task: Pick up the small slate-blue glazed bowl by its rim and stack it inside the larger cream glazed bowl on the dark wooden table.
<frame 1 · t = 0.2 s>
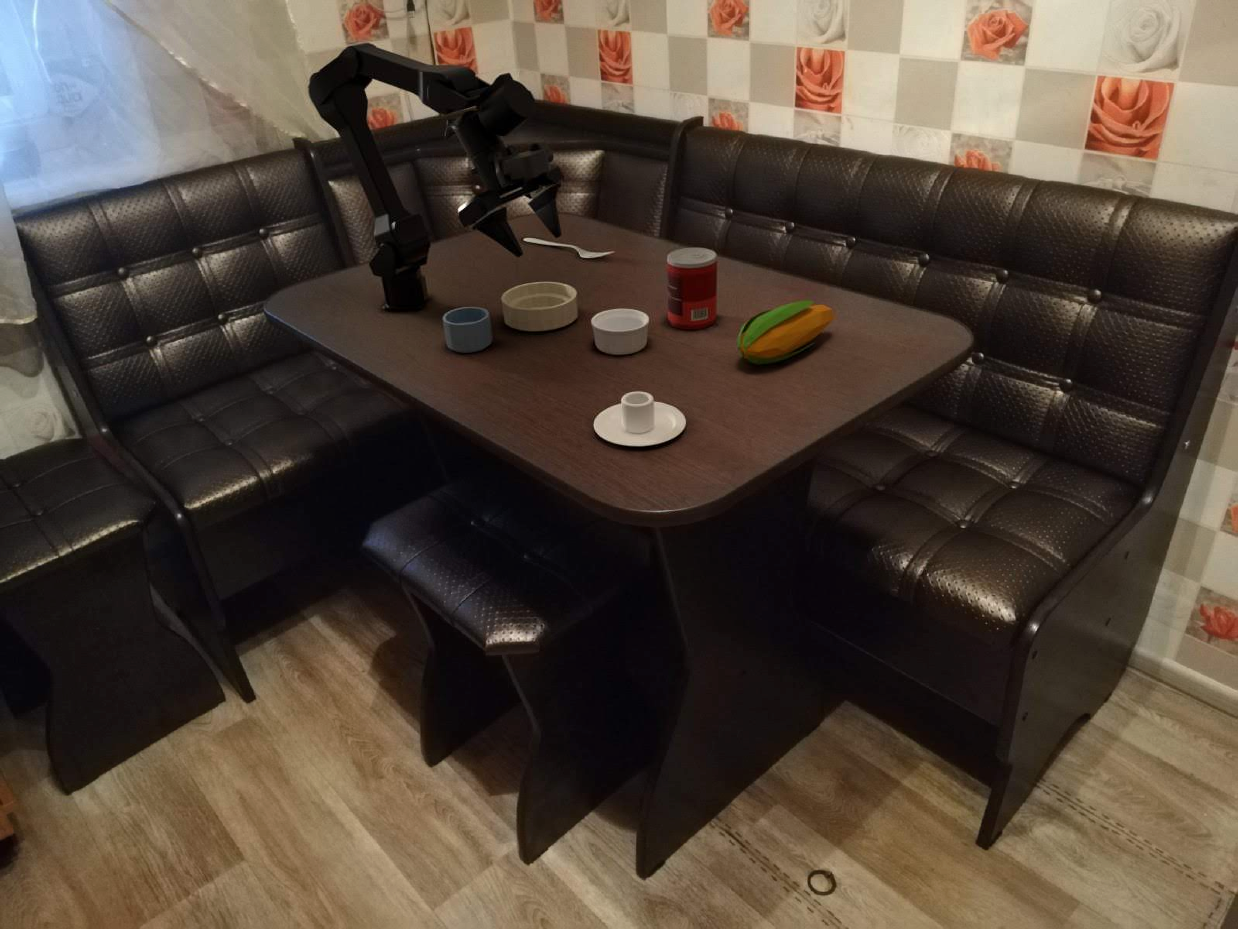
hand: (540, 246, 139), 15 cm above the table, tool tilted 30°, fingers open, 9 cm apart
ramekin: (621, 346, 143), on the table
candle holder: (639, 428, 121), on the table
canned food: (692, 322, 150), on the table
cream bowl: (541, 319, 153), on the table
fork: (566, 251, 183), on the table
corn: (786, 351, 138), on the table
slate bowl: (470, 345, 146), on the table
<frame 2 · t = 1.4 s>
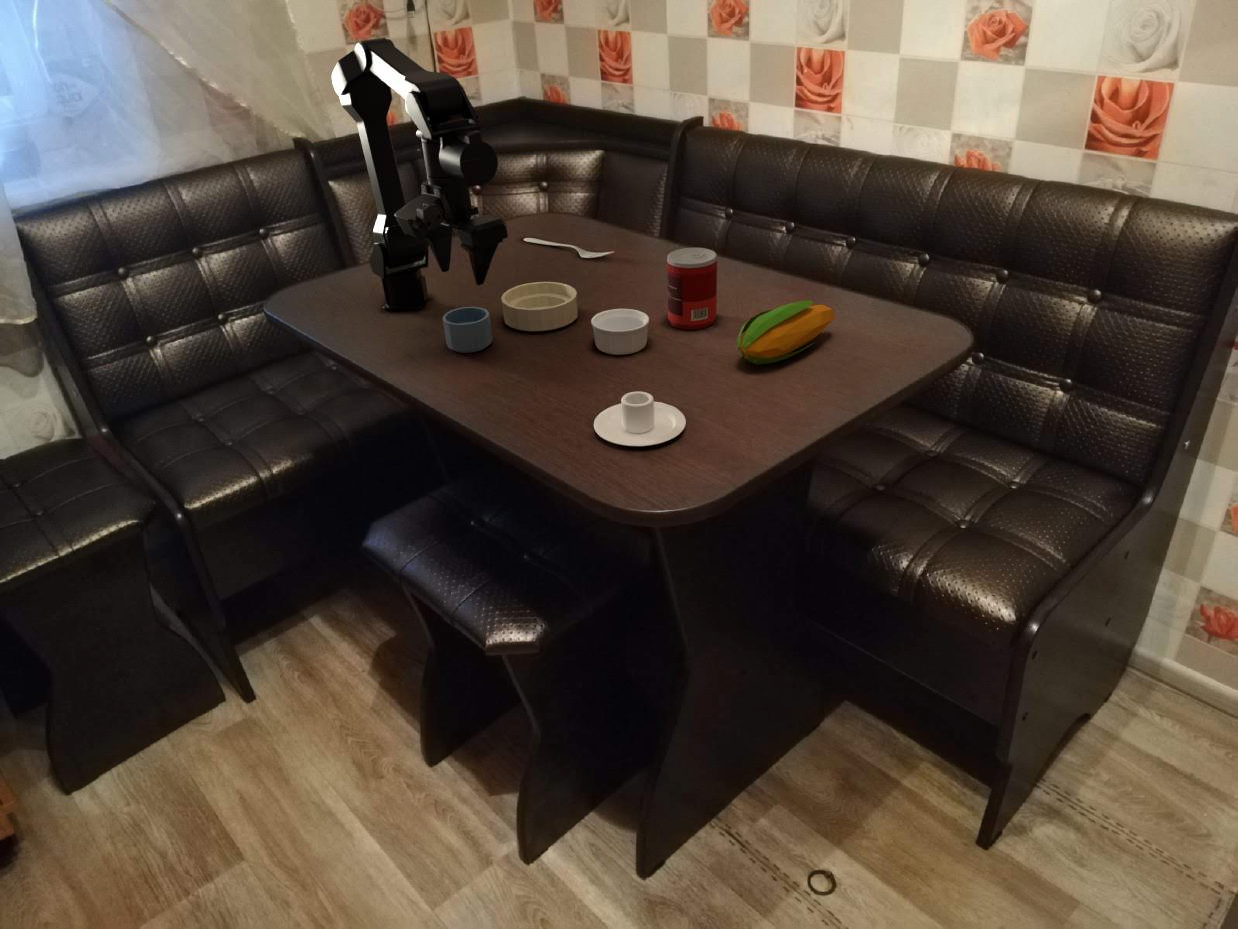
hand: (462, 277, 140), 11 cm above the table, tool pointing down, fingers open, 9 cm apart
nothing on the table moved.
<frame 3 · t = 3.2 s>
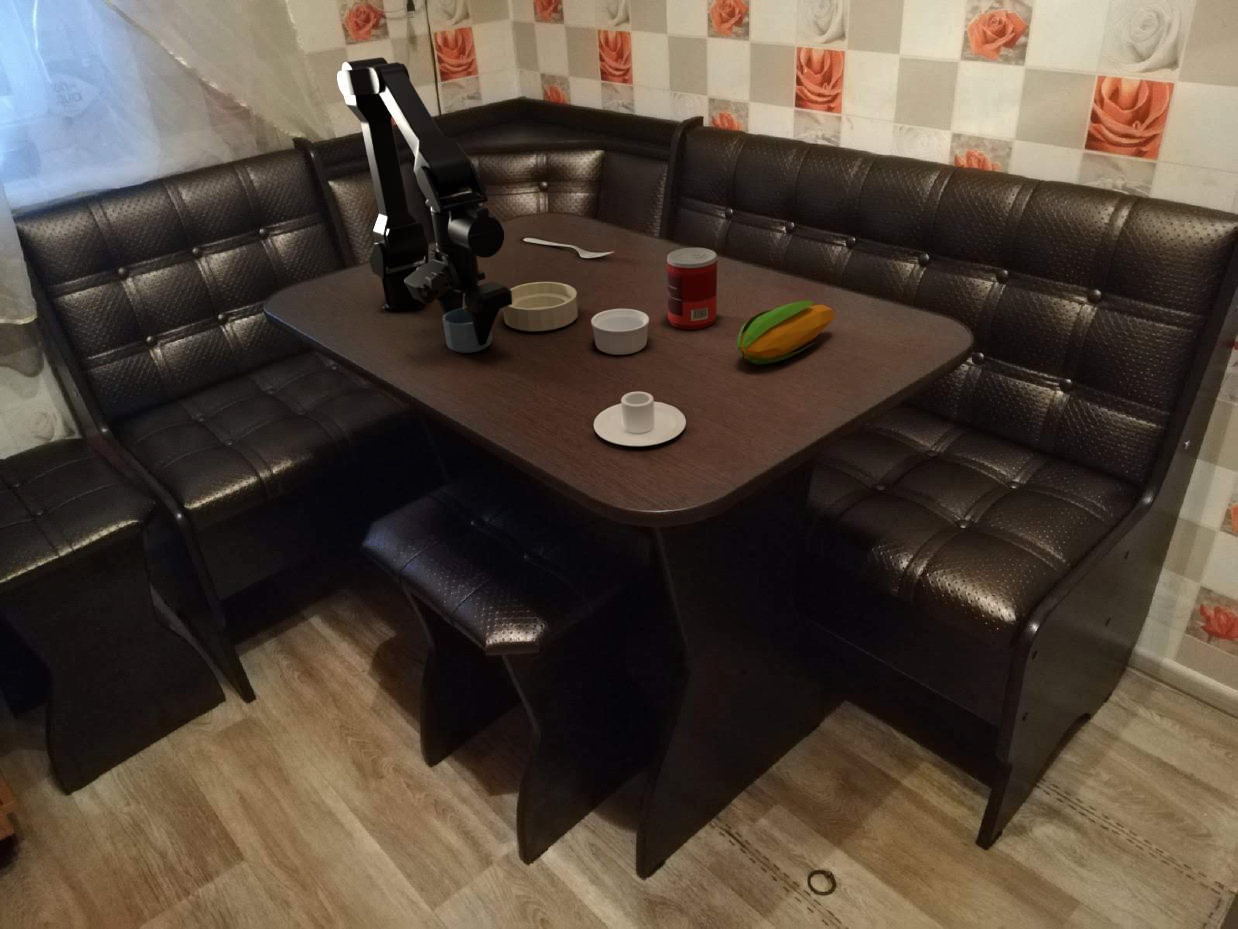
hand: (469, 337, 145), 1 cm above the table, tool pointing down, fingers closed on slate bowl, 7 cm apart
slate bowl: (470, 345, 146), on the table, touching gripper
everything else where it was.
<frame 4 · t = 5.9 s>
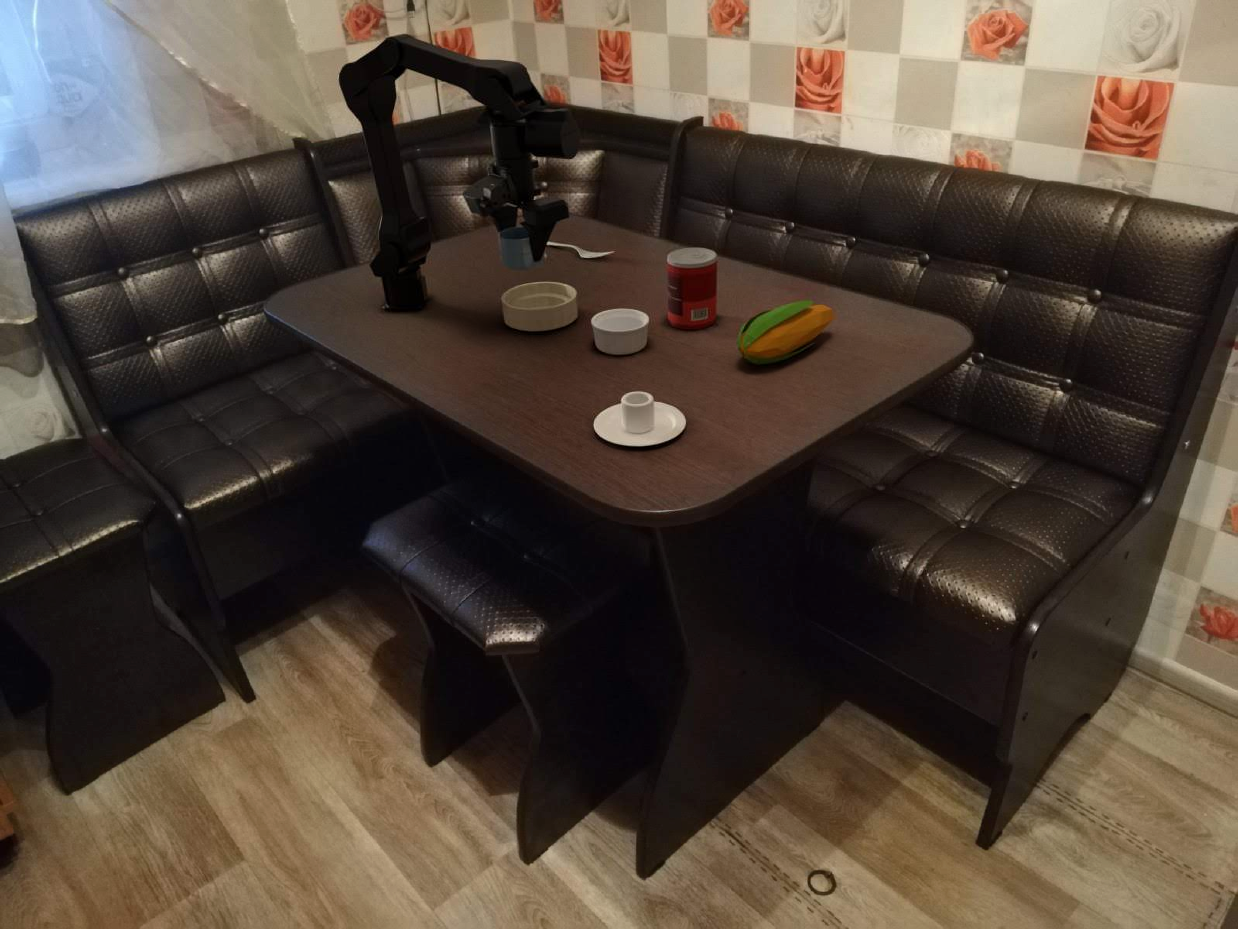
hand: (523, 256, 146), 11 cm above the table, tool pointing down, fingers closed on slate bowl, 7 cm apart
slate bowl: (524, 263, 147), point 10 cm above the table, touching gripper
everything else where it was.
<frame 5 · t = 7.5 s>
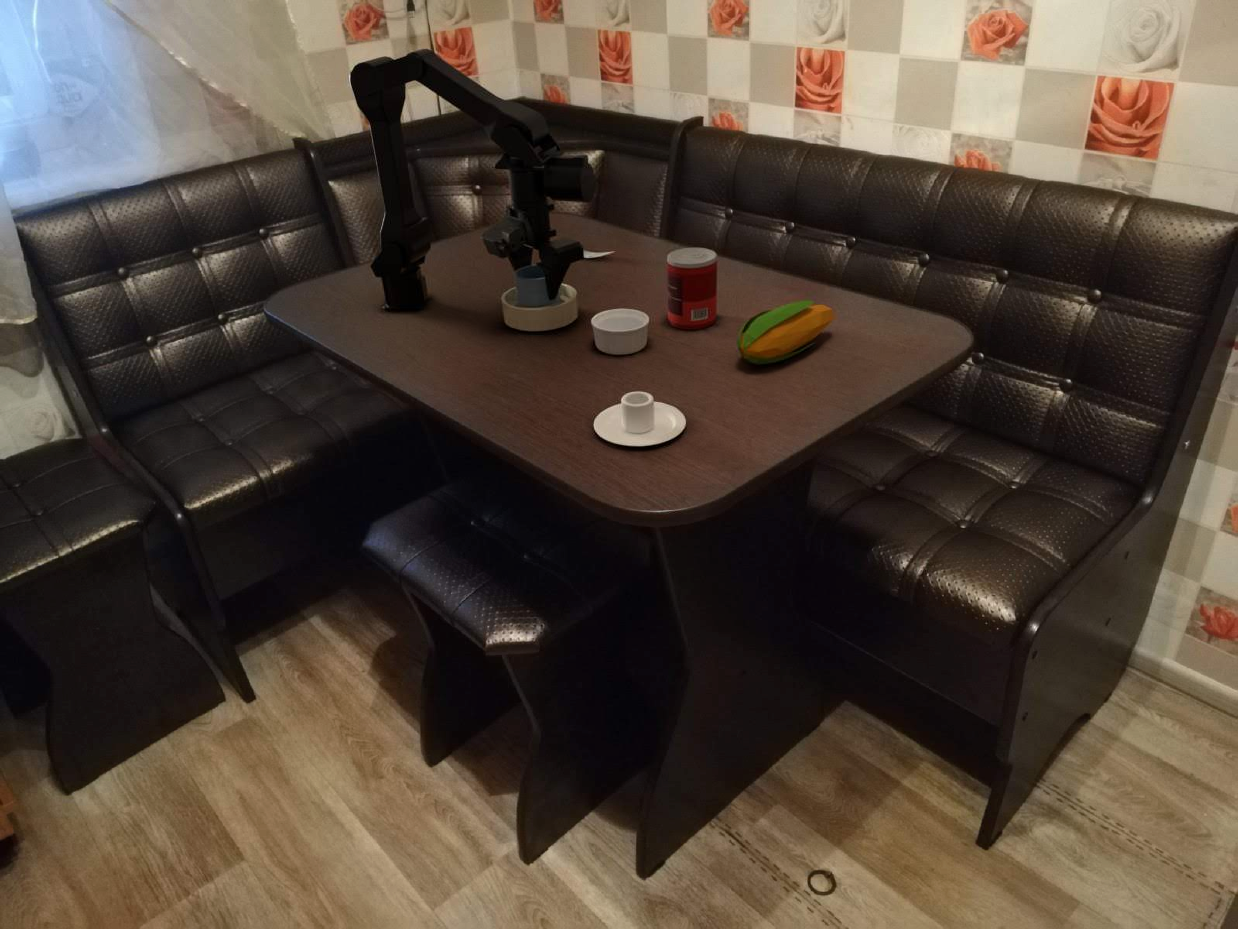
hand: (538, 293, 151), 4 cm above the table, tool pointing down, fingers closed on slate bowl, 7 cm apart
slate bowl: (539, 300, 152), point 3 cm above the table, touching gripper
everything else where it was.
when the fingers open (2 cm above the table, at t = 9.2 s): slate bowl stays where it is, resting on cream bowl.
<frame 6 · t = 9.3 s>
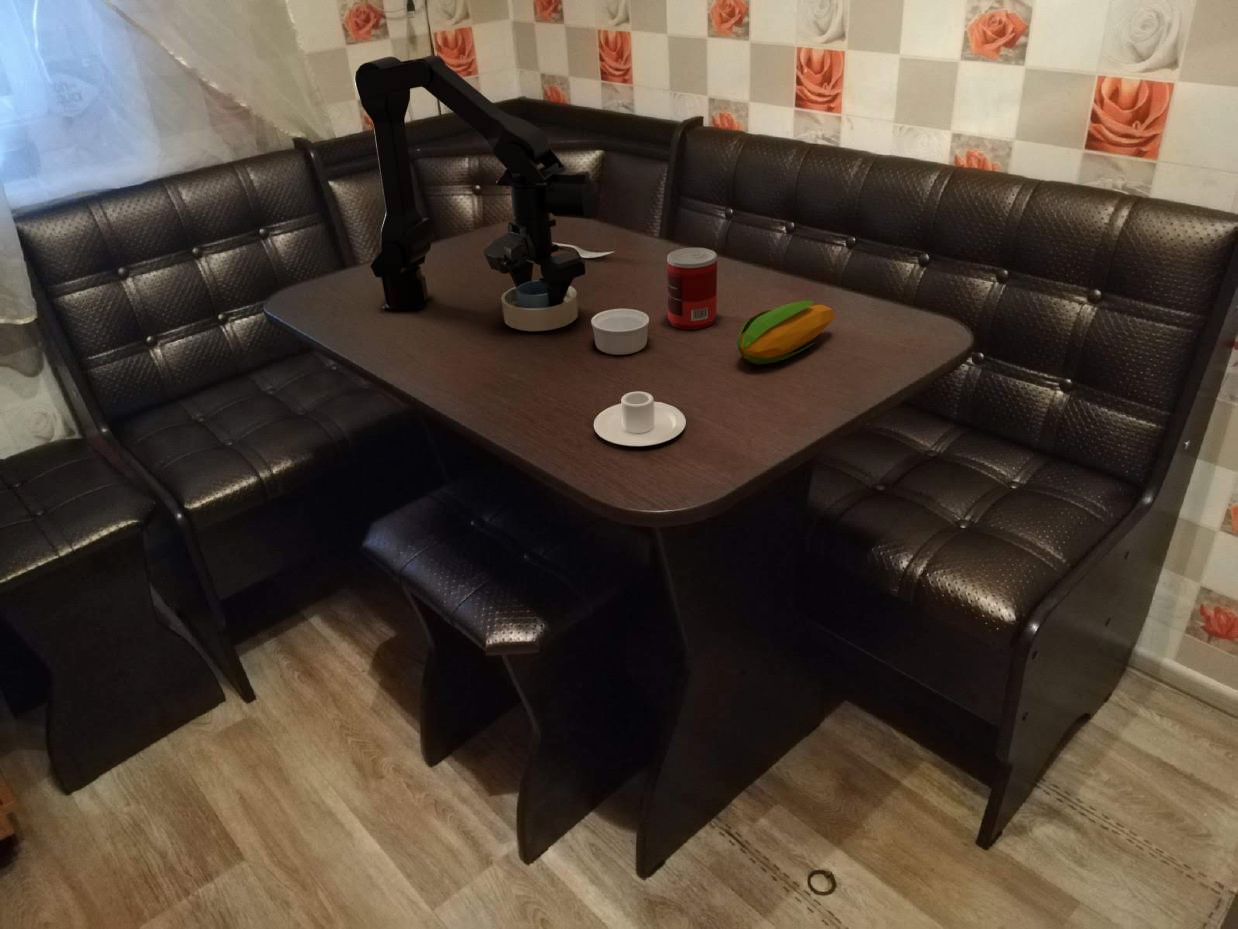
hand: (540, 307, 152), 2 cm above the table, tool pointing down, fingers open, 8 cm apart
slate bowl: (540, 316, 153), resting on cream bowl
everything else where it was.
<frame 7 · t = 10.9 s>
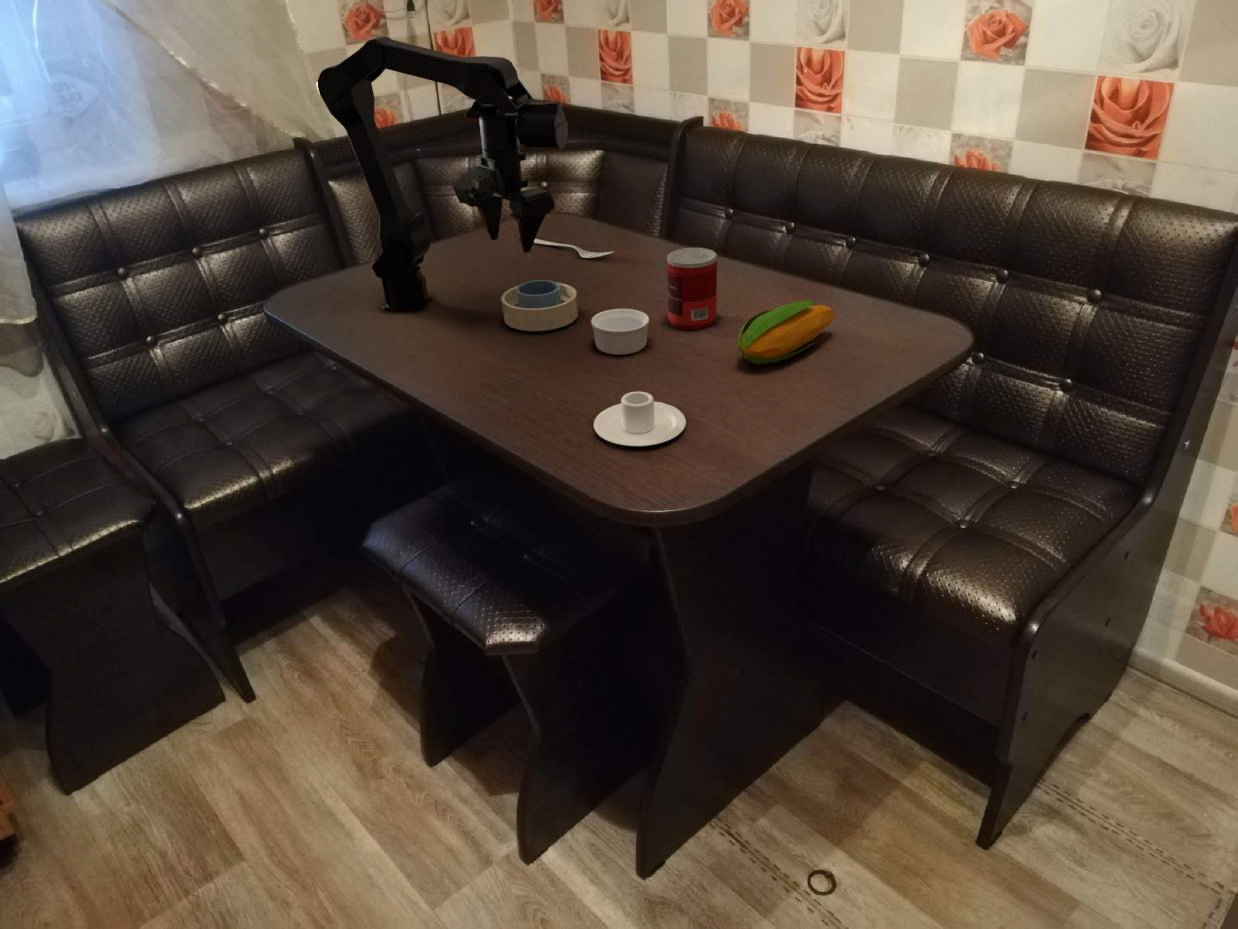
hand: (510, 245, 151), 11 cm above the table, tool pointing down, fingers open, 9 cm apart
nothing on the table moved.
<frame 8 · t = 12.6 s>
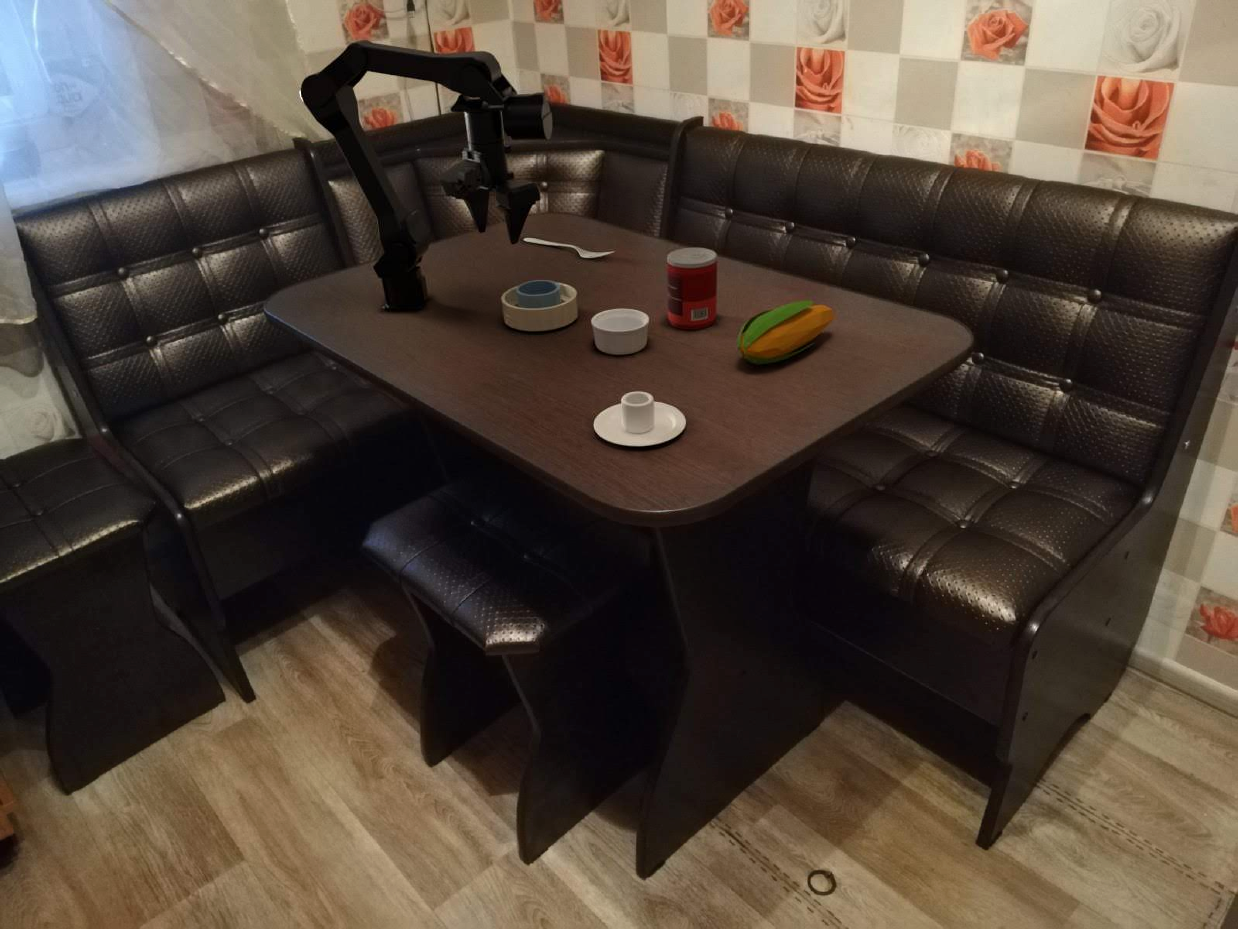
hand: (497, 237, 153), 12 cm above the table, tool pointing down, fingers open, 9 cm apart
nothing on the table moved.
at the end: slate bowl 0.0 cm off-centre in the cream bowl, point 0.5 cm above the cream bowl's base; slate bowl tilted 0°; the gripper is holding nothing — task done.
